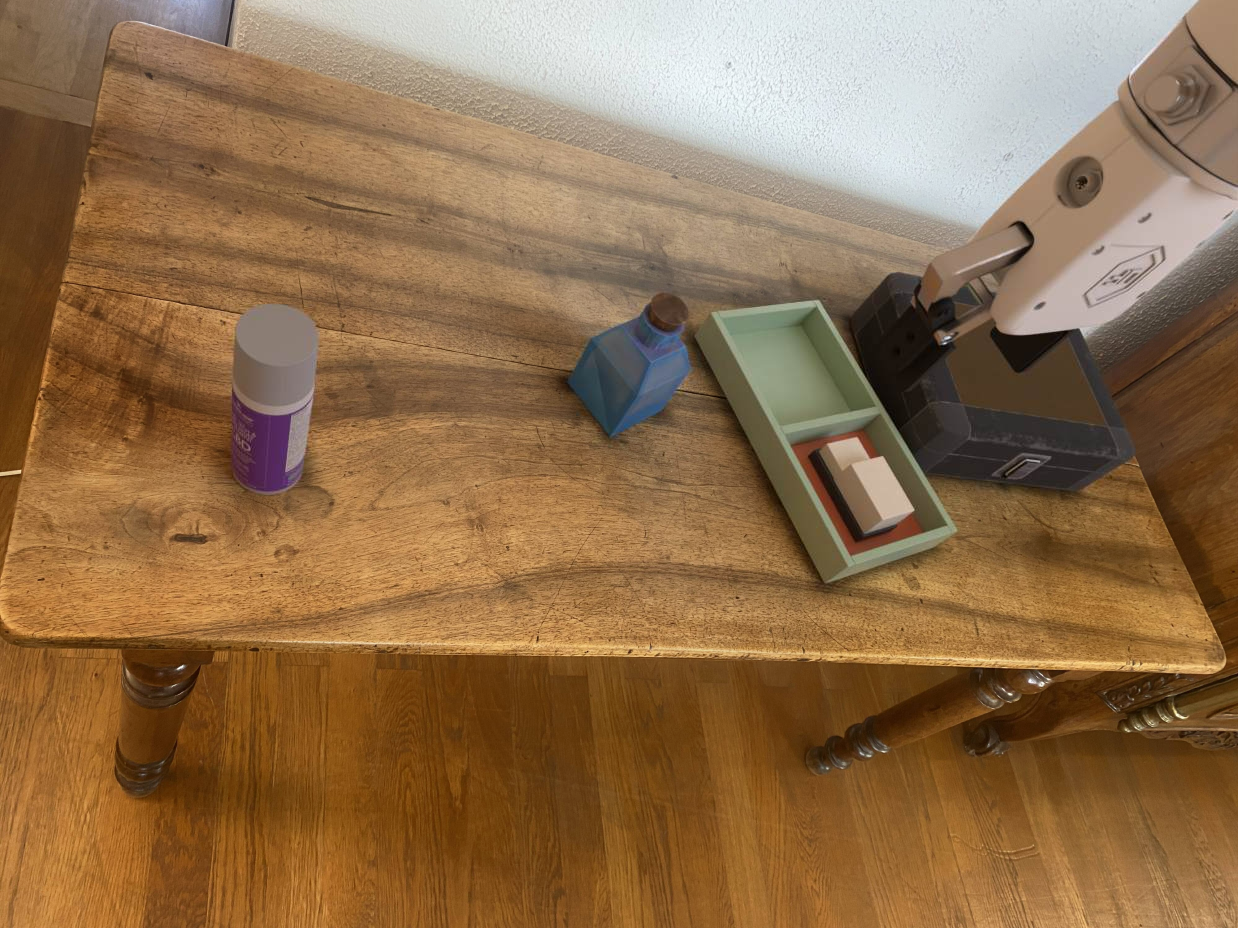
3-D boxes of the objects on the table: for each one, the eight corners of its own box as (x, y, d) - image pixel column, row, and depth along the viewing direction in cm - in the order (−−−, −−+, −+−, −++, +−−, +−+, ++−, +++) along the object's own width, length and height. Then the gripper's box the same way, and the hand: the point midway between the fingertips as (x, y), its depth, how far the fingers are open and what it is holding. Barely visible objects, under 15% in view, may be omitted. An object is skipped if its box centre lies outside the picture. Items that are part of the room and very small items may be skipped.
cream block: (890, 532, 79) (918, 511, 75) (855, 542, 76) (882, 522, 73) (842, 447, 82) (867, 425, 79) (807, 456, 80) (831, 432, 76)
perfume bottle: (619, 358, 78) (673, 268, 69) (661, 411, 77) (722, 326, 68) (567, 382, 75) (616, 290, 65) (610, 437, 74) (667, 352, 64)
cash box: (893, 479, 83) (946, 436, 77) (844, 314, 93) (887, 265, 87) (1086, 500, 92) (1147, 463, 86) (1022, 347, 102) (1073, 305, 96)
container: (217, 476, 60) (215, 342, 48) (254, 427, 62) (261, 289, 51) (281, 506, 60) (295, 381, 48) (315, 456, 63) (336, 326, 51)
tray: (800, 322, 90) (819, 299, 87) (932, 547, 81) (958, 530, 78) (693, 335, 83) (710, 312, 81) (824, 583, 74) (848, 566, 71)
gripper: (1160, 174, 30) (873, 438, 44) (1373, 177, 39) (1079, 397, 52) (1039, 33, 33) (804, 321, 47) (1262, 65, 42) (1010, 301, 55)
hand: (949, 361), depth 49 cm, fingers open, 9 cm apart
